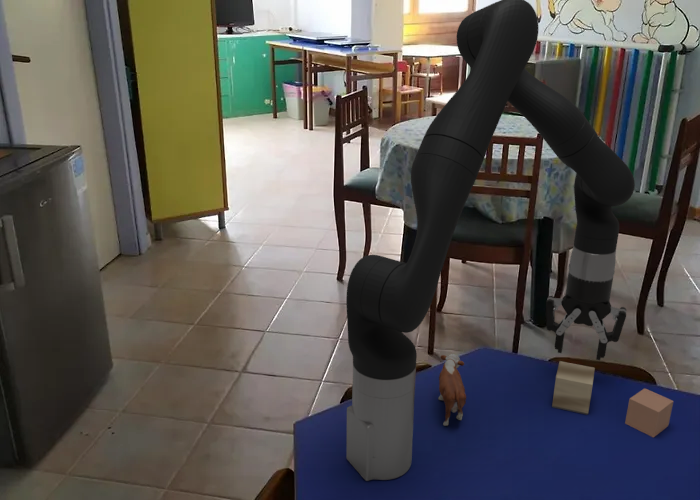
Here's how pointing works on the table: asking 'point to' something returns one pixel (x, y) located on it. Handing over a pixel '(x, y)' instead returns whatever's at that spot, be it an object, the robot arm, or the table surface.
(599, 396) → the table surface
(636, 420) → the terracotta block
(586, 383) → the oak block
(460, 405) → the bull figurine
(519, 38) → the robot arm
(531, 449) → the table surface
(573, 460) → the table surface
